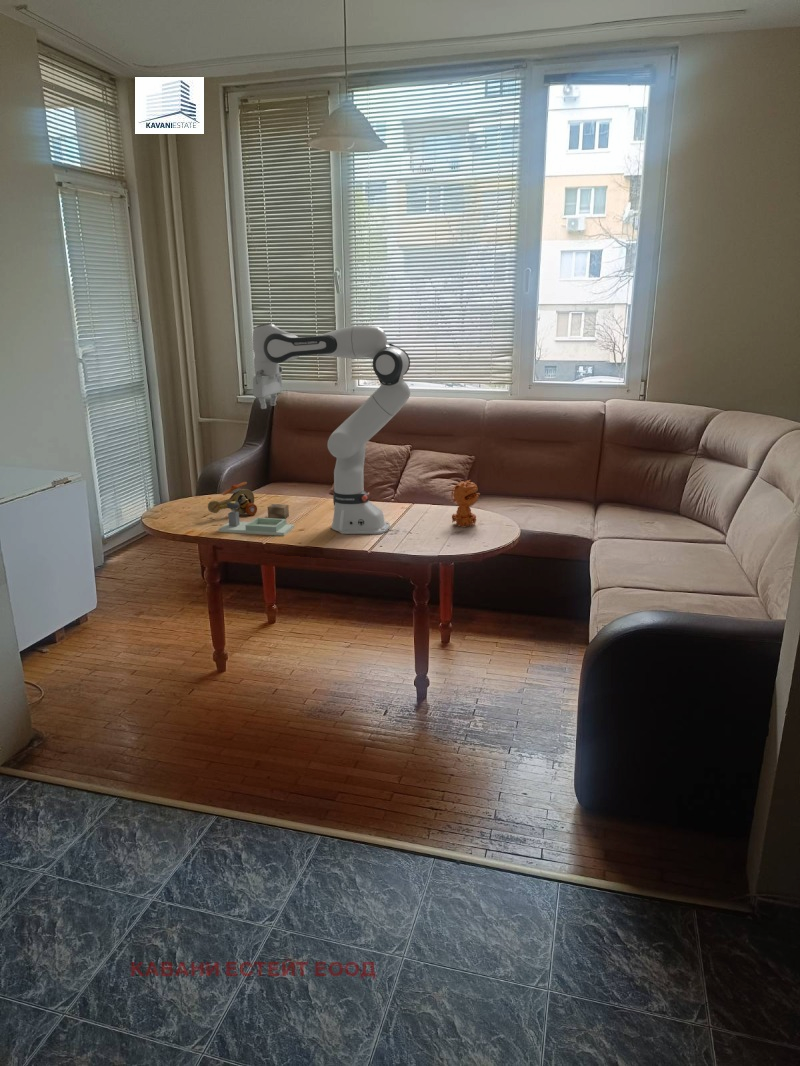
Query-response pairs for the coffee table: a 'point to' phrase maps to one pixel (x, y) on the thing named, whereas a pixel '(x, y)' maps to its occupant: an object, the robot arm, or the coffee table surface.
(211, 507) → the toy helicopter
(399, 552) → the coffee table surface
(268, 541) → the coffee table surface
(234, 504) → the wheel knob
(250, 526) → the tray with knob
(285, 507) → the brown rectangular block
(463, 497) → the toy dinosaur
